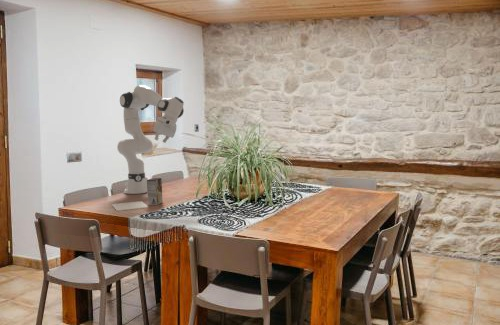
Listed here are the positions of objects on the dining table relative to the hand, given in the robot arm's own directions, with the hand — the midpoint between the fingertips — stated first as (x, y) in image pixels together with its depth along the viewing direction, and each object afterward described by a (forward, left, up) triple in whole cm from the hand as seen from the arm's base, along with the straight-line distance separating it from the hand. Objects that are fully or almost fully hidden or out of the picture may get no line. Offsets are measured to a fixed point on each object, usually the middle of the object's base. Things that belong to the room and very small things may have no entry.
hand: (160, 141), depth 300 cm
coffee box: (+5, -6, -40) cm, 40 cm away
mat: (+5, -22, -39) cm, 45 cm away
